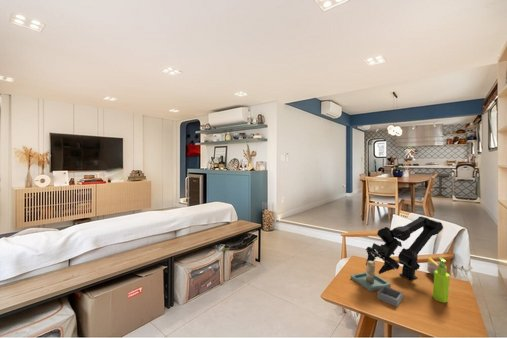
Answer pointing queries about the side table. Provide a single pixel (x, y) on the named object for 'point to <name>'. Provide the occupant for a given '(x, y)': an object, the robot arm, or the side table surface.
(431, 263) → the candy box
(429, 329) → the side table surface
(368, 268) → the rounded wooden peg
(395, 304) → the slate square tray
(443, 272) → the soap dispenser
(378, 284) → the green-grey tray
